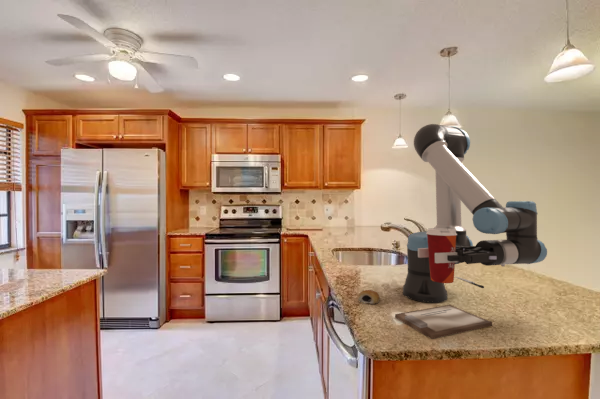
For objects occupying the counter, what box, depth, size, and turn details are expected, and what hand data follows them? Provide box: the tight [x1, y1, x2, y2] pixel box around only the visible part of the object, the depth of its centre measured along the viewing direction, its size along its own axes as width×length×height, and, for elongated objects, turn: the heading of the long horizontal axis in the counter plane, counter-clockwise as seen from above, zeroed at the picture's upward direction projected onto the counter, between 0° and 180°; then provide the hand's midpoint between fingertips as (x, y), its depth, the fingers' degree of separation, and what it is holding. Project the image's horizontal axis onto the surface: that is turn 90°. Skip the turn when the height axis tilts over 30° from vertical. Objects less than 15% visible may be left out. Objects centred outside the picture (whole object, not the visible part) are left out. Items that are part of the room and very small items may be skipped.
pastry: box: [357, 289, 380, 305], centre depth 99 cm, size 9×7×4 cm
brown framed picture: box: [394, 304, 493, 340], centre depth 81 cm, size 14×22×2 cm, turn 110°
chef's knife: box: [455, 276, 485, 289], centre depth 122 cm, size 19×1×3 cm
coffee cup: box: [426, 227, 457, 284], centre depth 81 cm, size 8×8×15 cm
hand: (426, 255), depth 80 cm, fingers closed on coffee cup, 7 cm apart
